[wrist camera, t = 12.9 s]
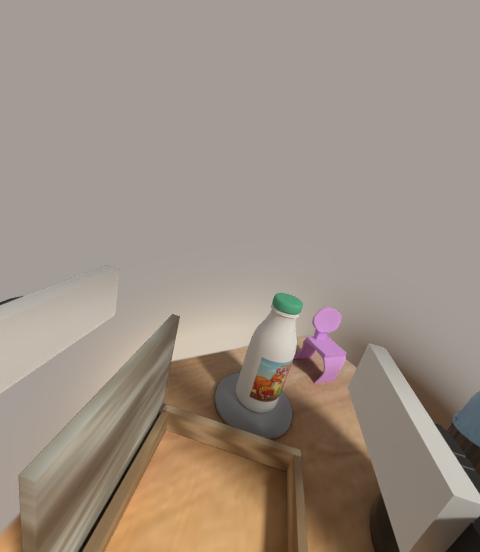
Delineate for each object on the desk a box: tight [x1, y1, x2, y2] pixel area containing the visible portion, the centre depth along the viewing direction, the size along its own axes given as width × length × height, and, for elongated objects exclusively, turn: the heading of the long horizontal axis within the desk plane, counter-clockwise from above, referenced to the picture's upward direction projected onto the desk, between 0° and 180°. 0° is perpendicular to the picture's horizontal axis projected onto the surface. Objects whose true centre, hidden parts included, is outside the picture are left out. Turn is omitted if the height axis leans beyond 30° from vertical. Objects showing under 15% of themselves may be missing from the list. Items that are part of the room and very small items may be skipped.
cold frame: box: [19, 314, 308, 552], centre depth 25 cm, size 22×20×18 cm
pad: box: [215, 372, 293, 440], centre depth 45 cm, size 14×14×1 cm
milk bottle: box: [236, 293, 303, 413], centre depth 43 cm, size 8×8×20 cm
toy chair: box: [294, 307, 347, 384], centre depth 57 cm, size 8×9×15 cm
